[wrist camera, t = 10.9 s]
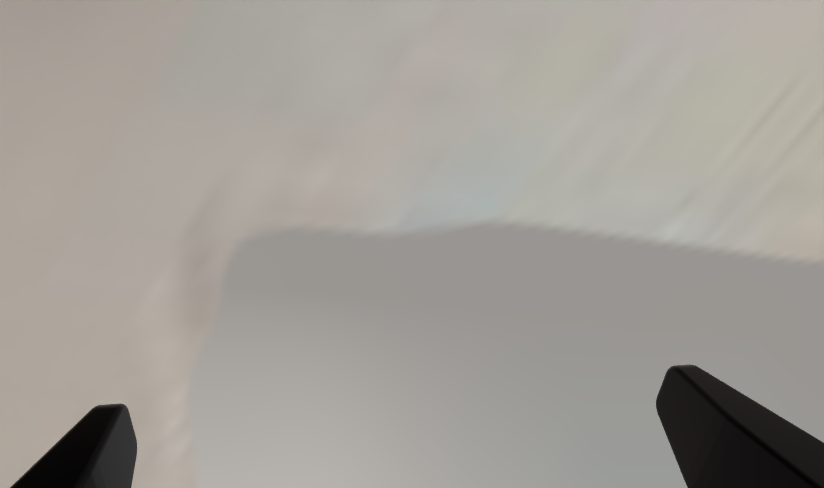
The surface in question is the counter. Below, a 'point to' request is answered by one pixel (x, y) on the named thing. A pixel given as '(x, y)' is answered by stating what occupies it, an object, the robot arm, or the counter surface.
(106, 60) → the counter surface
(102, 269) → the counter surface
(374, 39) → the counter surface
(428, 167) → the counter surface
